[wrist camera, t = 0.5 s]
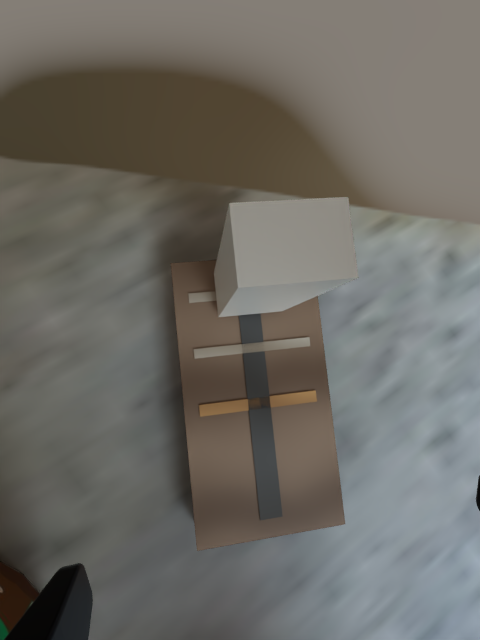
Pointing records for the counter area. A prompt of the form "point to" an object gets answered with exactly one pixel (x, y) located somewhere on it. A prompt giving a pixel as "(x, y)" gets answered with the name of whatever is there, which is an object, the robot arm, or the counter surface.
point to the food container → (13, 598)
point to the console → (254, 416)
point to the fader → (283, 254)
